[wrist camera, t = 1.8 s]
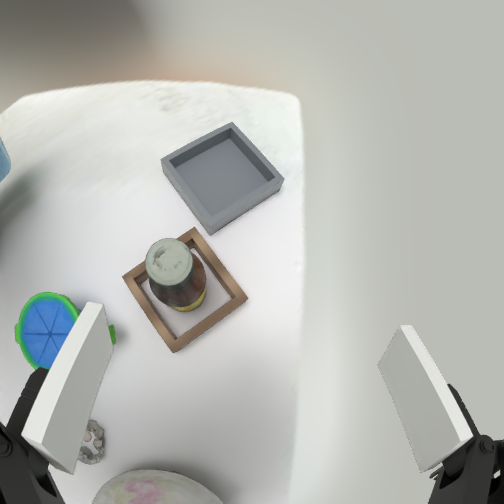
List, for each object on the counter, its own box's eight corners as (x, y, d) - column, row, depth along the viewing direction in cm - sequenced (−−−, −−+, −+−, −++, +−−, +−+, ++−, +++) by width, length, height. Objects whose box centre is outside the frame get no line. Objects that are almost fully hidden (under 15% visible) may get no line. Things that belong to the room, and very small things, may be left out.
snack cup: (125, 305, 40) (102, 294, 30) (126, 375, 37) (102, 385, 27) (41, 299, 38) (6, 287, 28) (40, 363, 35) (4, 365, 25)
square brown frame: (129, 282, 41) (121, 276, 37) (195, 236, 45) (194, 226, 41) (176, 351, 39) (172, 353, 35) (244, 302, 43) (248, 298, 39)
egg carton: (106, 423, 35) (98, 430, 31) (105, 461, 32) (97, 470, 29) (51, 402, 34) (39, 406, 30) (50, 439, 31) (39, 445, 28)
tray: (163, 172, 47) (160, 159, 43) (230, 135, 51) (232, 121, 47) (209, 235, 45) (210, 226, 41) (279, 190, 49) (284, 178, 45)
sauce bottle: (159, 277, 42) (121, 230, 23) (198, 265, 43) (191, 208, 24) (172, 320, 40) (140, 305, 22) (213, 307, 42) (214, 281, 23)
